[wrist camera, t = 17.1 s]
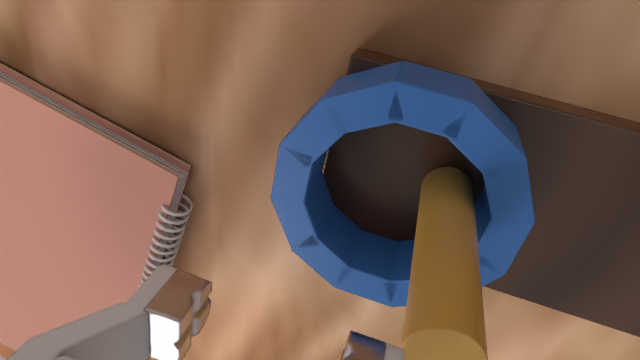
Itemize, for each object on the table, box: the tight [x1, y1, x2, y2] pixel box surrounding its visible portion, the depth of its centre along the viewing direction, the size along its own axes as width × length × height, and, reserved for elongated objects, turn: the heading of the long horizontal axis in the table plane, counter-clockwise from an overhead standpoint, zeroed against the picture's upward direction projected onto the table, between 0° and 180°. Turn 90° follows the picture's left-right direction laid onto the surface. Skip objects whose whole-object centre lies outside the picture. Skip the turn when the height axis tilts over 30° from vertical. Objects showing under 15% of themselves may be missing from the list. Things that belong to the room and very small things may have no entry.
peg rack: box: [324, 48, 640, 360], centre depth 16 cm, size 26×10×12 cm, turn 79°
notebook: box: [0, 63, 193, 351], centre depth 32 cm, size 27×17×2 cm, turn 156°
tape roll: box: [271, 61, 535, 307], centre depth 20 cm, size 11×11×3 cm
